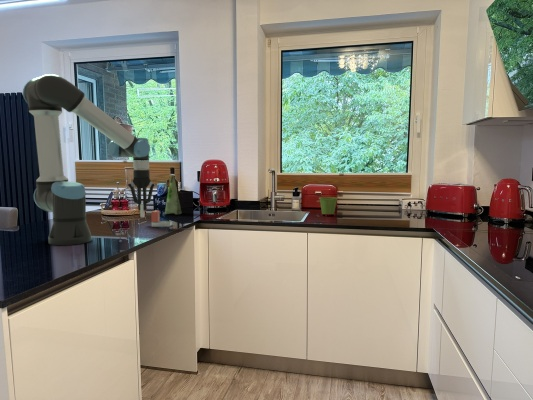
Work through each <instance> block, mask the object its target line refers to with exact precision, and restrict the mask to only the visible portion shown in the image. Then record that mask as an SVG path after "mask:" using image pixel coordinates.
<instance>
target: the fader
mask: <svg viewBox="0 0 533 400" xmlns="http://www.w3.org/2000/svg"><path fill="white" fill-rule="evenodd" d="M150 214H151V216H150V217H151V218H150V219H151V223H152V222H158V221H161V219H160V218H161V217H160V214H161V213H160V210H152V211H151V213H150Z"/></svg>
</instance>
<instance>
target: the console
mask: <svg viewBox="0 0 533 400" xmlns="http://www.w3.org/2000/svg"><path fill="white" fill-rule="evenodd" d="M172 223H173V222H172V221H171V220H169V221H168V220H160V221H158V222H152V221H151V227H155V228H156V227H157V228H158V227H161V228H163V227H166V228H169V227H172V225H173V224H172Z"/></svg>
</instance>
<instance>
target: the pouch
mask: <svg viewBox="0 0 533 400" xmlns="http://www.w3.org/2000/svg"><path fill="white" fill-rule="evenodd" d="M167 185H168V188H167V194H166V195H167V196H166V203H165V209H164V215H181V214H182V209H181V203H180V199H179V198H180V197H179V194H178V189H177V188H178V187H177V184H176V178H175V176H174V174H172V173H171V174H170V173H169V174H168V183H167Z"/></svg>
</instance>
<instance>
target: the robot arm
mask: <svg viewBox="0 0 533 400" xmlns="http://www.w3.org/2000/svg"><path fill="white" fill-rule="evenodd" d="M22 96H23V99H24V100H25V103H26V104H27V105H28V112H29V113H30V114H31V115H32V116H33V118H34V120H33V121H34V128H35V131H34V132H35V140H36V150H37V151H36V152H37V160H38V161H37V162H38V169H39V177H38V178H37V179H36V181H35V183H36V188H35V189H34V193H33V201H34V202H35V204H36V206H37V207H38V208H39V209H41V210H43V211H44V212H47V213H52V225H51V228H50V232H49V234H48V245H52V246H72V245H73V246H74V245H80V244H86V243H89V242H91V241H92V234H91V230H90V227H89V225H88V222H87V205H86V203H87V202H86V198H87V197H86V195H87V194H86V193H87V192H86V187H85V185H84V184H83V183H80V182H76V181H69V178H68V177H67V176H65V175H64V165H63V164H64V163H63V153H62V152H63V151H62V143H61V133H60V132H61V131H60V120H59V119H60V118H59V117H60V115H61V114H62V113H63V110H65V111H66V112H68V113H73V114H75V115H76V116H78V117H79V118H80V119H81V120H84V121H85V122H86V123H87V124H89V125H90V126H92V127H93V128H94V129H95V130H97V132H99V133H100V134H102V135H104V136H105V137H107V138H108V140H111V141H110V142H109V143H108V146H107V151H108V155H110V157H112V158H132V163H133V164H132V167H133V171H132V172H133V179H132V182H130V183H128V184H127V185H128V187H129V189H130V192H131V193H130V194H131V197H132V199H133V202H134V203H135V204H137V210H138V211H139V212H140V213H139V214H140V218H145V217H146V213H145V211H147V209H148V208H147V204H149V203H150V202H151V200H152V196H153V190H154V188H155V186H156V184H155V183H153V182H152V181H151V179H150V170H149V169H150V152H151V146H150V143H149V139H148V138H147V137H136V136H135V135H134V134H132V133H131V132H130V131H129V130H127V129H126V128H125V127H124V126H122V125H121V124H120V123H119V122H117V121H116V120H115V119H113V117H111V116H110V115H108V113H106V112H104V111H103V110H102V109H101V108H100V107H98V106H97V105H96V104H95V103H93V102H92V101H91V100H89V99H88V98H87V97H86V94H85V92H83V91H82V90H81V89H80V88H78V86H76V85H74V84H73V83H71V82H70V81H69V80H67V79H65V77H63V76H60V75H57V74H53V73H52V74H50V73H49V74H44V75H42V76H38V77H34V78H31V79H30V80H29V81H27V82H26V83H25V84H24V86H23V88H22ZM135 187H136V189H137V193H136V189H135ZM148 187H149V190H148V195H147V188H148Z"/></svg>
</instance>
